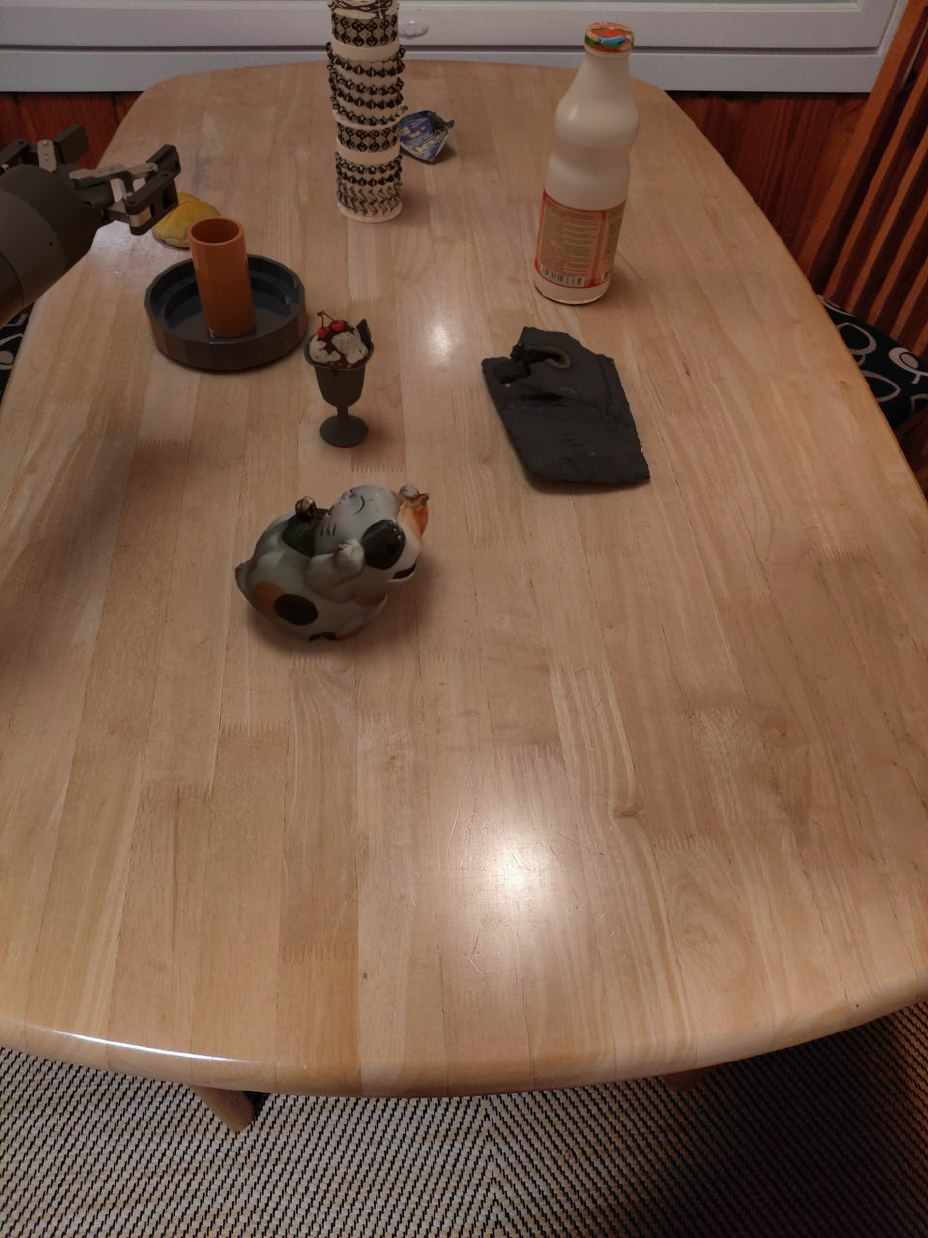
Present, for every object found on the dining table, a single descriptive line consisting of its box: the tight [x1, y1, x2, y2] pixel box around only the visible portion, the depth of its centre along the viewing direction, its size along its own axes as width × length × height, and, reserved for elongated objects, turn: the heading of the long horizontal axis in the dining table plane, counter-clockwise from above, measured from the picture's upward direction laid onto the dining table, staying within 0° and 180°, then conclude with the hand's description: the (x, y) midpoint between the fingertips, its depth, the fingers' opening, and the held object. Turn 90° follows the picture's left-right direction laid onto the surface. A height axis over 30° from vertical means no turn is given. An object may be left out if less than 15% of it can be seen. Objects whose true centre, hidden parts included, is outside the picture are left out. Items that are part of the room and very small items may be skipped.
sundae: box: [302, 309, 375, 448], centre depth 89 cm, size 7×7×15 cm
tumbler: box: [187, 216, 256, 337], centre depth 100 cm, size 6×6×11 cm
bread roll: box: [150, 191, 223, 248], centre depth 115 cm, size 8×9×4 cm
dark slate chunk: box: [480, 325, 651, 485], centre depth 96 cm, size 15×22×5 cm
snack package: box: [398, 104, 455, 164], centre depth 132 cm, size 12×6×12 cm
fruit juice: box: [532, 21, 640, 301], centre depth 103 cm, size 9×9×28 cm
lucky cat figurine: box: [234, 482, 430, 643], centre depth 78 cm, size 15×12×14 cm
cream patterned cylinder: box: [324, 0, 407, 224], centre depth 113 cm, size 9×9×25 cm
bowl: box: [143, 252, 308, 371], centre depth 104 cm, size 17×17×4 cm
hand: (128, 145), depth 79 cm, fingers open, 8 cm apart
